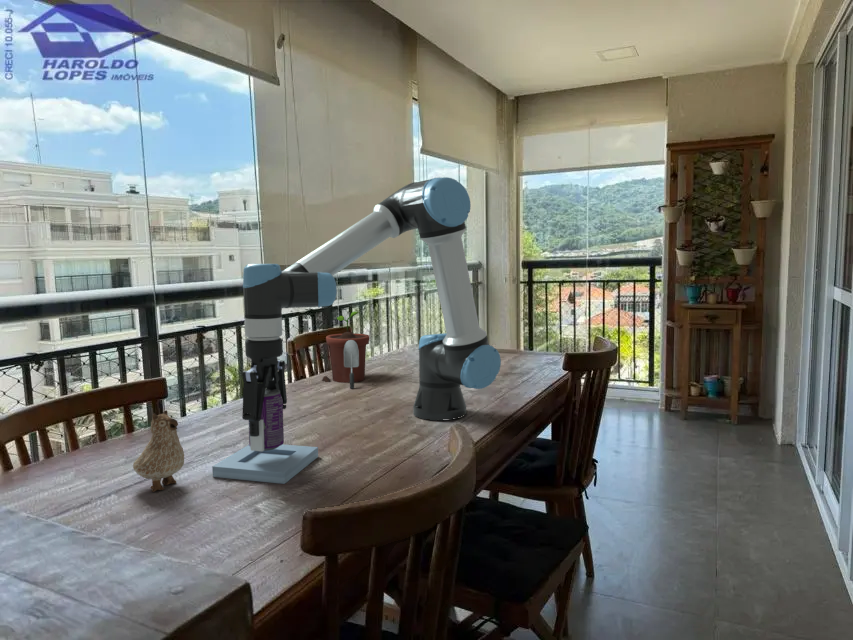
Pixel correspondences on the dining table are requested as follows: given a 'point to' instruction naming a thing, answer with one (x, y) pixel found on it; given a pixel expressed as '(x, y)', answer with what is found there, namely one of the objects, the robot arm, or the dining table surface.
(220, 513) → the dining table surface
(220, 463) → the baseplate
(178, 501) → the dining table surface
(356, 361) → the potted plant
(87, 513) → the dining table surface
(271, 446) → the beverage can
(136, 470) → the figurine
